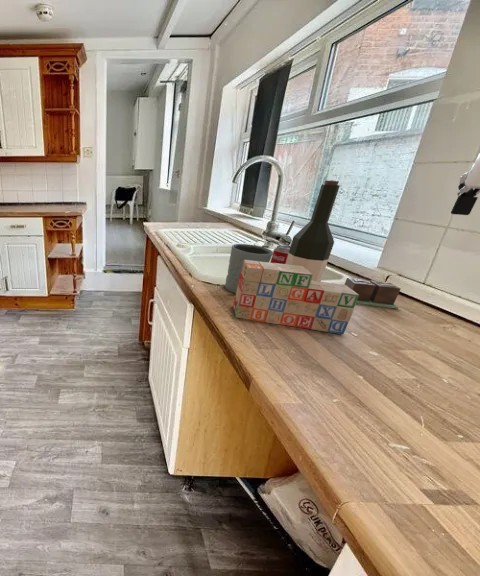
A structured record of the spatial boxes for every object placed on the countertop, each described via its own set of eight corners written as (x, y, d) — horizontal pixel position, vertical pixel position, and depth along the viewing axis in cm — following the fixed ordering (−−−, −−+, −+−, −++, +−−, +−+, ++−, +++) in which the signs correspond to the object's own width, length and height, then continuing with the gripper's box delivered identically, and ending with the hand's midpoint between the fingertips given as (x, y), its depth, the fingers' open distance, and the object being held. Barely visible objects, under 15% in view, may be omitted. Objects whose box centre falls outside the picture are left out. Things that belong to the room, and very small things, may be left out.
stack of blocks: (332, 322, 70) (351, 271, 65) (343, 335, 64) (366, 281, 60) (232, 306, 75) (243, 258, 71) (234, 317, 70) (247, 266, 65)
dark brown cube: (360, 295, 85) (366, 279, 84) (368, 301, 81) (375, 284, 79) (341, 292, 86) (347, 276, 85) (348, 298, 82) (355, 282, 81)
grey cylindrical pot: (229, 280, 93) (238, 242, 88) (265, 289, 87) (276, 249, 83) (217, 289, 86) (226, 247, 81) (256, 300, 80) (268, 255, 75)
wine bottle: (311, 300, 81) (352, 181, 70) (312, 311, 75) (358, 182, 63) (276, 293, 85) (309, 179, 74) (274, 302, 79) (310, 179, 67)
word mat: (382, 298, 85) (383, 296, 85) (398, 309, 79) (399, 307, 79) (337, 292, 88) (338, 291, 88) (349, 302, 82) (349, 300, 81)
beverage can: (269, 282, 93) (280, 244, 89) (289, 288, 89) (302, 248, 85) (260, 286, 90) (271, 246, 85) (281, 292, 86) (293, 251, 81)
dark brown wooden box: (383, 298, 84) (390, 281, 82) (393, 304, 80) (401, 287, 78) (364, 295, 85) (370, 279, 83) (373, 302, 81) (380, 285, 79)
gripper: (603, 123, 51) (542, 226, 57) (505, 133, 66) (466, 213, 73) (545, 122, 53) (491, 222, 59) (463, 132, 68) (428, 211, 74)
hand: (477, 217), depth 66 cm, fingers open, 9 cm apart
